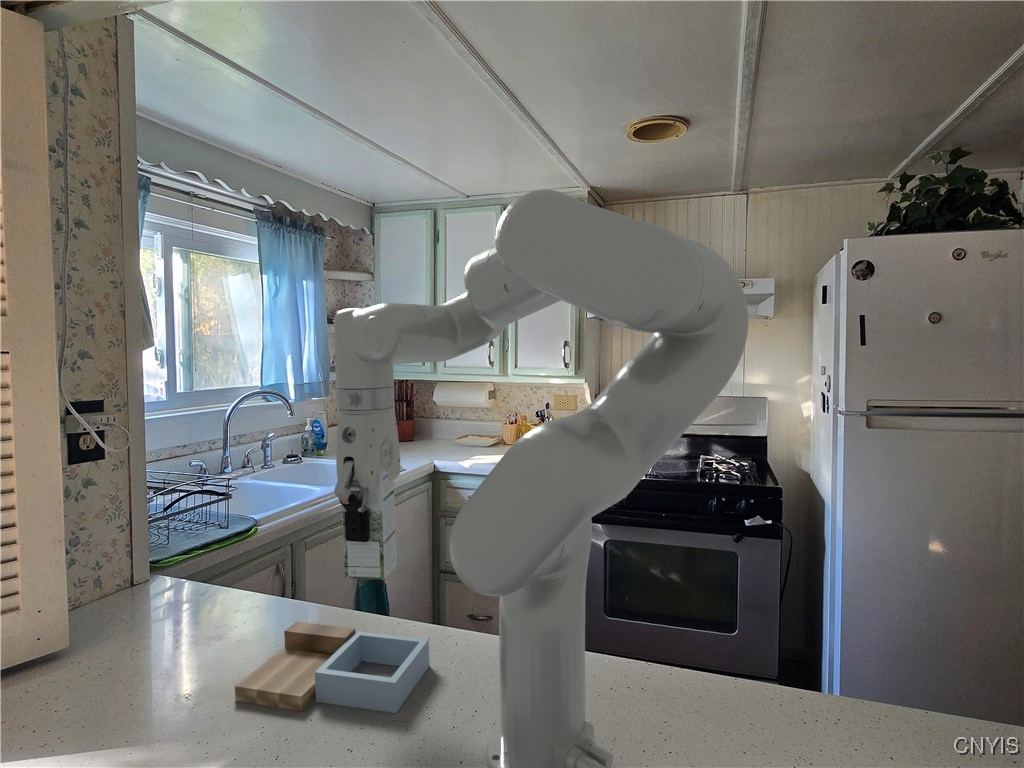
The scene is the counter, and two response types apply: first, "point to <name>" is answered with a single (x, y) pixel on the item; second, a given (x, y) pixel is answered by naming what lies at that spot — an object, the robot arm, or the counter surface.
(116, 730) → the counter surface
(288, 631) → the block
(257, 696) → the board
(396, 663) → the square frame
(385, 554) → the syrup box
